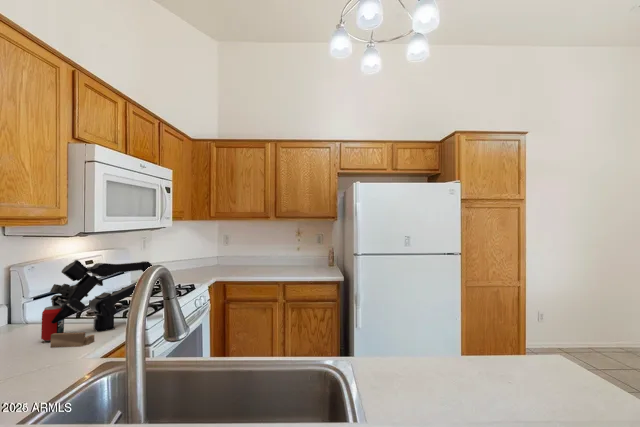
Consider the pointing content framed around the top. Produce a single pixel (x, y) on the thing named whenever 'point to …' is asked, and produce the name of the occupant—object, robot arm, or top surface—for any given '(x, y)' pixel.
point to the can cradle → (70, 339)
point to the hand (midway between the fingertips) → (48, 321)
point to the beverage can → (49, 327)
